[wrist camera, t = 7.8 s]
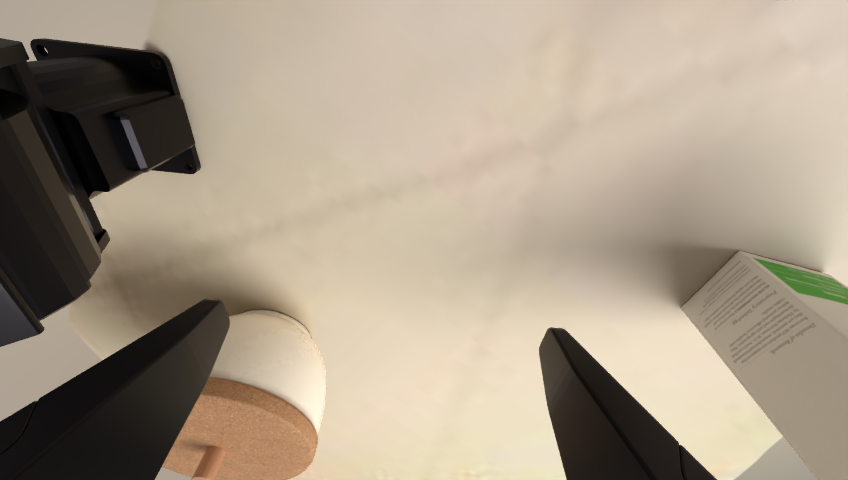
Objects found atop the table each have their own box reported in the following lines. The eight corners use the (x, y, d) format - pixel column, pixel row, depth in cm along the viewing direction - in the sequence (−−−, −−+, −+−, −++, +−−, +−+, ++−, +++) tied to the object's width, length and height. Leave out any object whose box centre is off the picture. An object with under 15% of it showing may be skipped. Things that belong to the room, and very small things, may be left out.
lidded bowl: (203, 263, 25) (71, 407, 16) (361, 314, 28) (327, 461, 19) (193, 357, 31) (96, 497, 22) (322, 391, 34) (283, 527, 25)
